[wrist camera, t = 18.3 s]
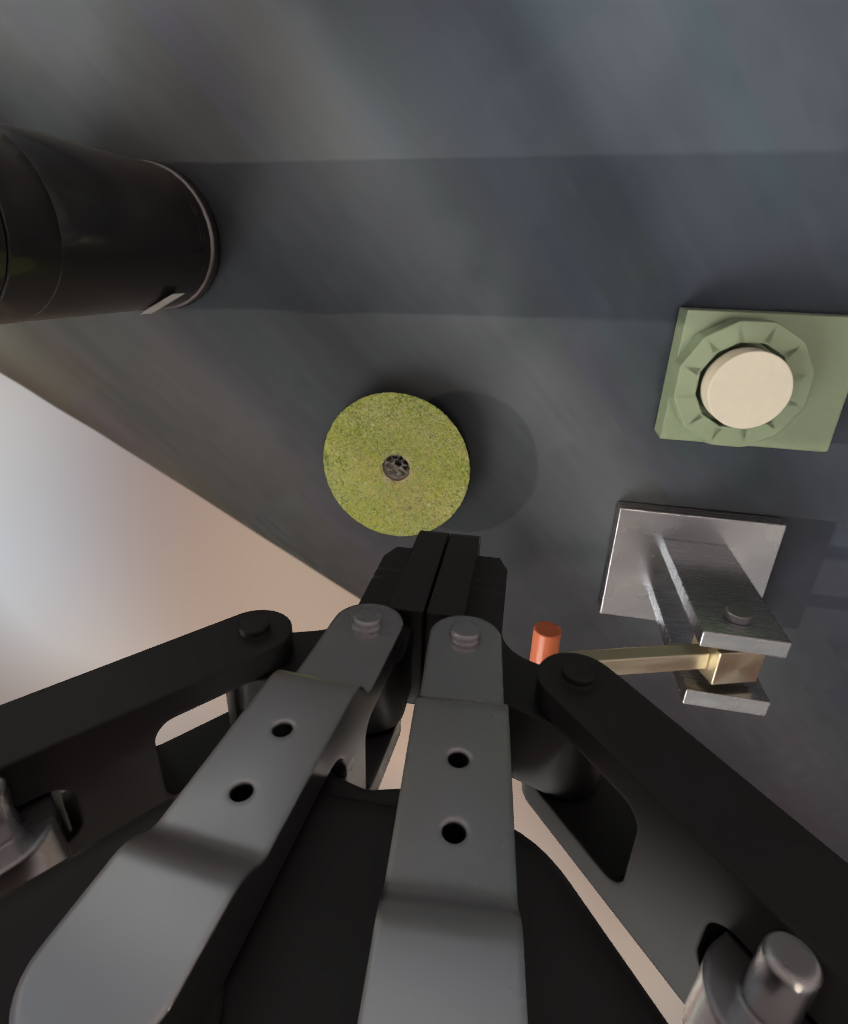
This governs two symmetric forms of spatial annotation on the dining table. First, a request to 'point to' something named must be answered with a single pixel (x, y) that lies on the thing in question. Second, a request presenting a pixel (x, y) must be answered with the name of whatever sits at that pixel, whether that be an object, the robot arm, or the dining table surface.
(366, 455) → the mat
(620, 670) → the lever
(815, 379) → the control block
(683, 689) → the bracket
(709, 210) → the dining table surface
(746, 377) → the button
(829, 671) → the dining table surface
